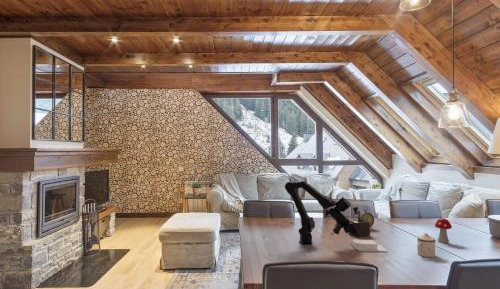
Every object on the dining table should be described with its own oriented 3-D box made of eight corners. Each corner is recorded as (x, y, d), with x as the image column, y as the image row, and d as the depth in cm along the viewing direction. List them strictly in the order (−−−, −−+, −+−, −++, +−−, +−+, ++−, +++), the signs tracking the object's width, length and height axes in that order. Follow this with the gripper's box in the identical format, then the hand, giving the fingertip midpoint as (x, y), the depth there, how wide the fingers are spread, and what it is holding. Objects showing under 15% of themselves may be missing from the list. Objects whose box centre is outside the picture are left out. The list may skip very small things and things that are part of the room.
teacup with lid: (423, 251, 204) (423, 231, 205) (439, 255, 197) (439, 234, 197) (410, 254, 198) (410, 233, 198) (426, 259, 190) (425, 236, 191)
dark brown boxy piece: (371, 236, 243) (371, 209, 243) (358, 237, 238) (358, 209, 238) (355, 231, 257) (355, 205, 257) (343, 232, 252) (343, 206, 253)
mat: (358, 251, 205) (358, 250, 205) (353, 244, 219) (353, 243, 219) (387, 252, 203) (387, 251, 203) (381, 245, 217) (381, 244, 217)
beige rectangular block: (355, 243, 207) (377, 244, 206) (352, 239, 217) (372, 240, 216) (355, 249, 207) (377, 249, 206) (352, 244, 217) (372, 245, 216)
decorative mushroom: (431, 241, 230) (431, 217, 230) (441, 240, 233) (441, 216, 233) (445, 244, 220) (444, 220, 221) (455, 243, 223) (455, 219, 224)
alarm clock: (361, 229, 262) (361, 207, 262) (357, 228, 267) (357, 206, 267) (374, 229, 265) (374, 206, 265) (370, 227, 270) (370, 205, 270)
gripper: (326, 222, 222) (344, 241, 221) (330, 229, 204) (349, 249, 203) (339, 210, 222) (357, 229, 221) (344, 215, 203) (364, 236, 202)
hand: (357, 236), depth 211 cm, fingers closed
